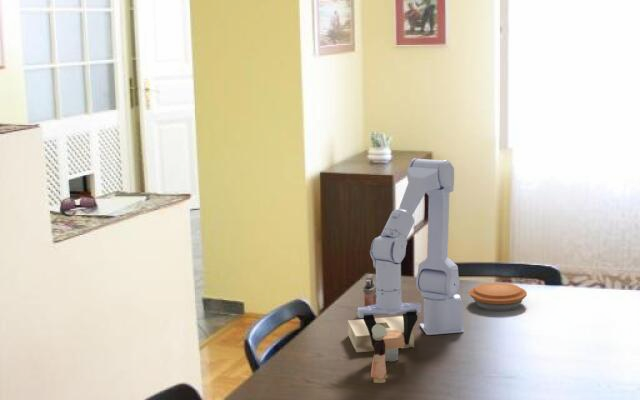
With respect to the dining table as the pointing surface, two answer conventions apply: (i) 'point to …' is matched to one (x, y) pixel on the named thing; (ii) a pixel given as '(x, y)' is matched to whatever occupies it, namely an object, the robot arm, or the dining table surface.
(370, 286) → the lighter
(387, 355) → the orange brown block
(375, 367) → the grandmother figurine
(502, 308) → the pie
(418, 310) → the robot arm
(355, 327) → the holder
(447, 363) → the dining table surface
